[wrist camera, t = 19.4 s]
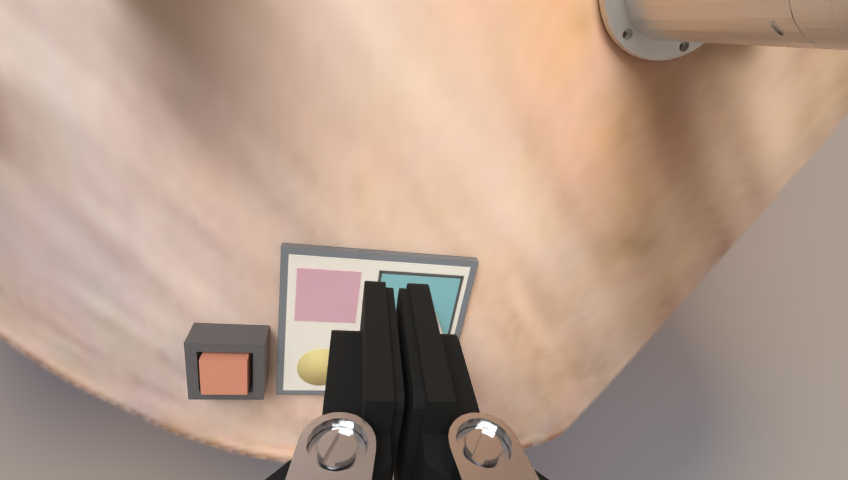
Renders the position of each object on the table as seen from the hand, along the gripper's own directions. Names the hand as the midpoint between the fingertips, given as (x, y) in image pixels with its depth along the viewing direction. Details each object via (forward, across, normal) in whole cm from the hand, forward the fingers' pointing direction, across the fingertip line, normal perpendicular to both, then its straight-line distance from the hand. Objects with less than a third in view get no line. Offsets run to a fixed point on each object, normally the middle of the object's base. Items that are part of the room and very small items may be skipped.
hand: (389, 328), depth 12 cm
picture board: (+28, -2, +22) cm, 35 cm away
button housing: (+27, +12, +25) cm, 39 cm away
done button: (+26, +12, +25) cm, 38 cm away
